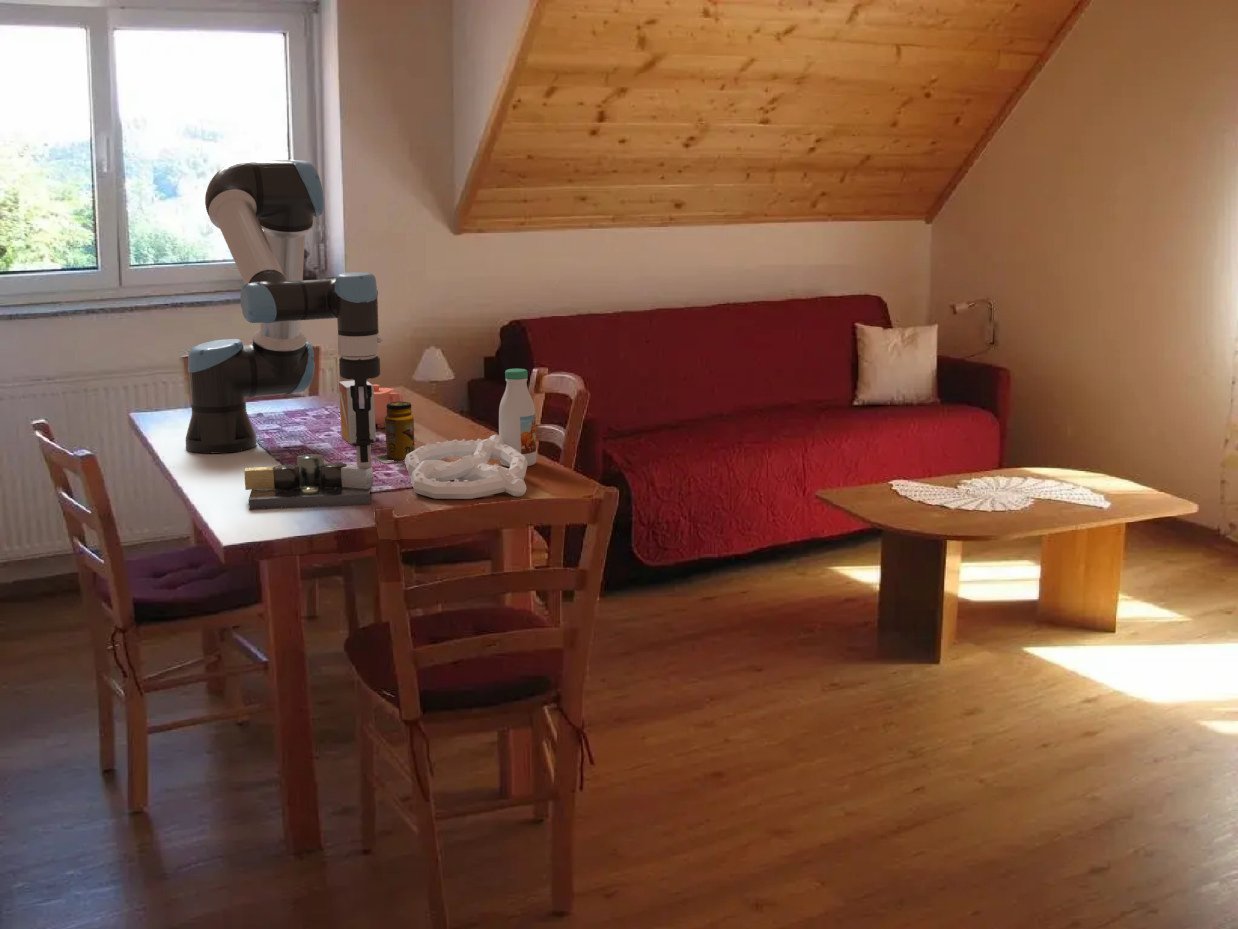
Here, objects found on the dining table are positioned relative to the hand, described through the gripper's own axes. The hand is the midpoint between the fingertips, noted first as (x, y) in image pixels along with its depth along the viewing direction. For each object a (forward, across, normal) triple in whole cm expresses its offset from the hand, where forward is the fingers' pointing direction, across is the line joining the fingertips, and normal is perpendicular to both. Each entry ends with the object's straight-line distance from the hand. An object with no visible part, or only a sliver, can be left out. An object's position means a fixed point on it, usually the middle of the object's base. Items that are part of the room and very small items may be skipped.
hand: (364, 477), depth 269 cm
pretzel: (+4, +5, -20) cm, 21 cm away
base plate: (+4, 0, +10) cm, 11 cm away
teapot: (+5, +69, -3) cm, 69 cm away
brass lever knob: (+1, 0, +17) cm, 17 cm away
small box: (+5, +52, +1) cm, 52 cm away
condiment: (+4, +31, -7) cm, 32 cm away
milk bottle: (+4, +21, -32) cm, 38 cm away
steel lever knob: (+1, -1, +4) cm, 4 cm away
